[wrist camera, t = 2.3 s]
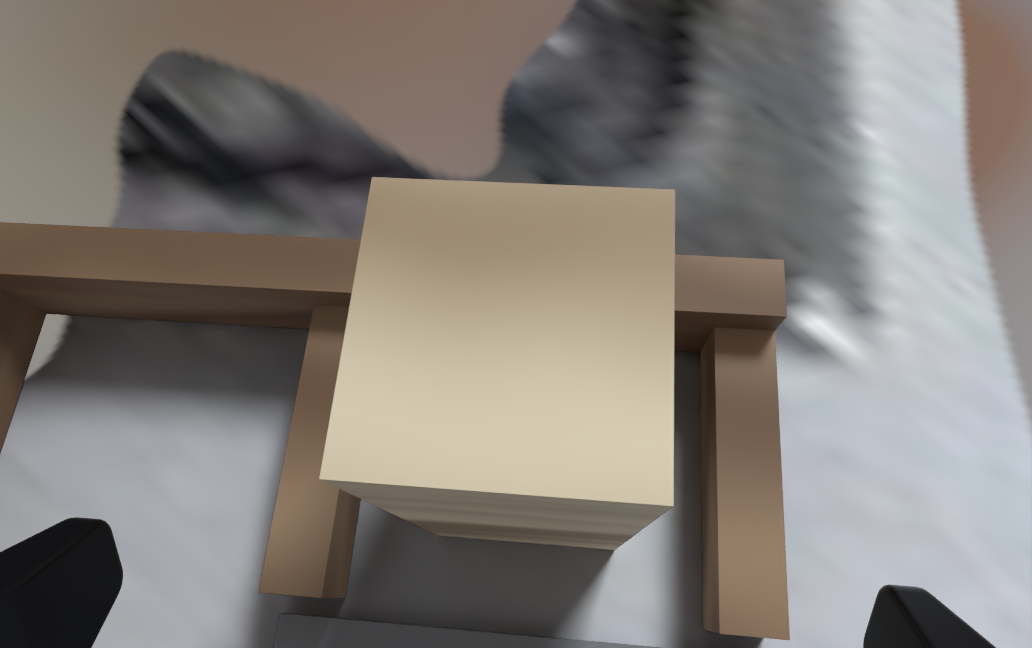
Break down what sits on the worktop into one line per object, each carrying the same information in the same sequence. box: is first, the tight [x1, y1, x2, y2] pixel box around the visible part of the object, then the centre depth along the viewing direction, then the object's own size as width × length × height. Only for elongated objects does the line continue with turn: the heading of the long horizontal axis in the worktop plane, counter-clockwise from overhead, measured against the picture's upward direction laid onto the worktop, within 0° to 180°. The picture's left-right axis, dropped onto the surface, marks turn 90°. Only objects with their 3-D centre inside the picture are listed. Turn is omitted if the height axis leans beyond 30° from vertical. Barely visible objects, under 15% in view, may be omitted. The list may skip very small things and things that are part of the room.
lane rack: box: [0, 222, 790, 640], centre depth 18 cm, size 9×22×3 cm, turn 85°
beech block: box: [319, 177, 675, 550], centre depth 15 cm, size 5×5×10 cm
